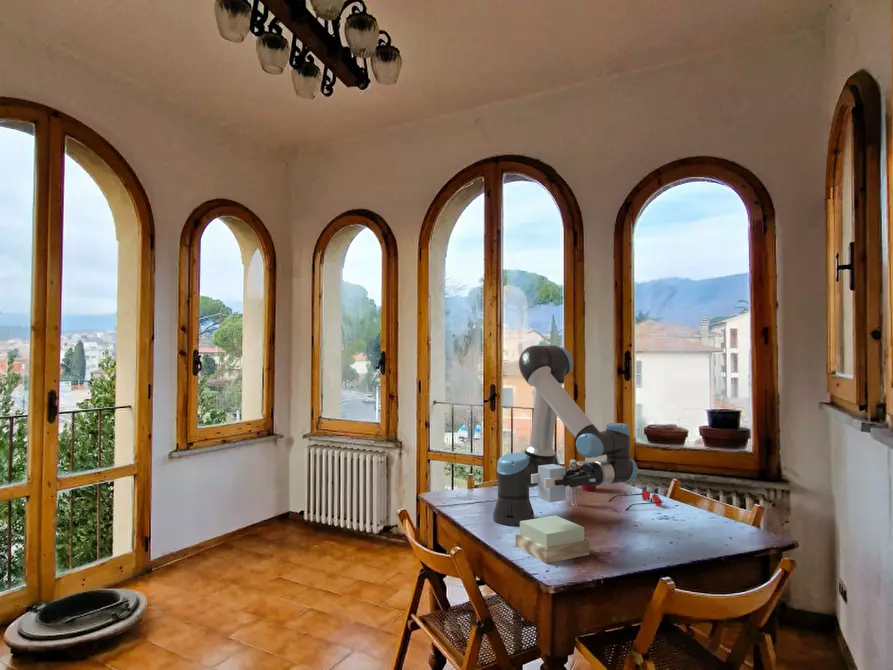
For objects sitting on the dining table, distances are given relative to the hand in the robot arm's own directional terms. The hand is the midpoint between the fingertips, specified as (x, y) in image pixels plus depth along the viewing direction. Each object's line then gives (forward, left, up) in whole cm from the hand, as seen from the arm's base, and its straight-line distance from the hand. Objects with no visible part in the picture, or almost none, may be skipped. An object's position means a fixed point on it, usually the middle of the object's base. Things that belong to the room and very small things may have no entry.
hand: (538, 481), depth 166 cm
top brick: (0, +5, -18) cm, 18 cm away
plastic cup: (-54, +67, -22) cm, 89 cm away
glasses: (-27, +67, -23) cm, 76 cm away
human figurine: (-38, +45, -22) cm, 63 cm away
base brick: (0, +5, -22) cm, 22 cm away
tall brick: (0, +5, -6) cm, 8 cm away
